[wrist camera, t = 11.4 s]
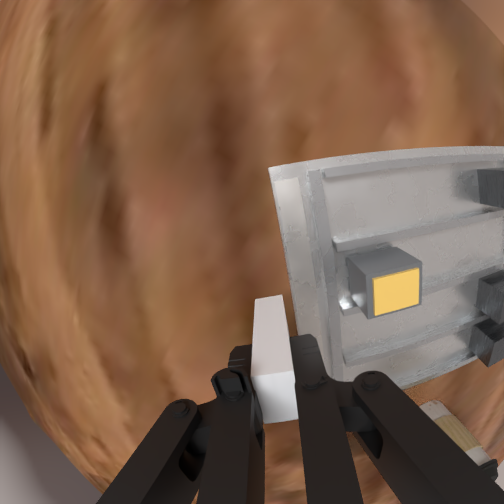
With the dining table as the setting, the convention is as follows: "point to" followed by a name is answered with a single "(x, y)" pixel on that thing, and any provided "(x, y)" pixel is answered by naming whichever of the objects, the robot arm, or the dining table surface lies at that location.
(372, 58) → the dining table surface
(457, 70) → the dining table surface
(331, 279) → the panel
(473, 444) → the coffee cup
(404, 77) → the dining table surface
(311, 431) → the robot arm
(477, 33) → the dining table surface
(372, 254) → the toggle
